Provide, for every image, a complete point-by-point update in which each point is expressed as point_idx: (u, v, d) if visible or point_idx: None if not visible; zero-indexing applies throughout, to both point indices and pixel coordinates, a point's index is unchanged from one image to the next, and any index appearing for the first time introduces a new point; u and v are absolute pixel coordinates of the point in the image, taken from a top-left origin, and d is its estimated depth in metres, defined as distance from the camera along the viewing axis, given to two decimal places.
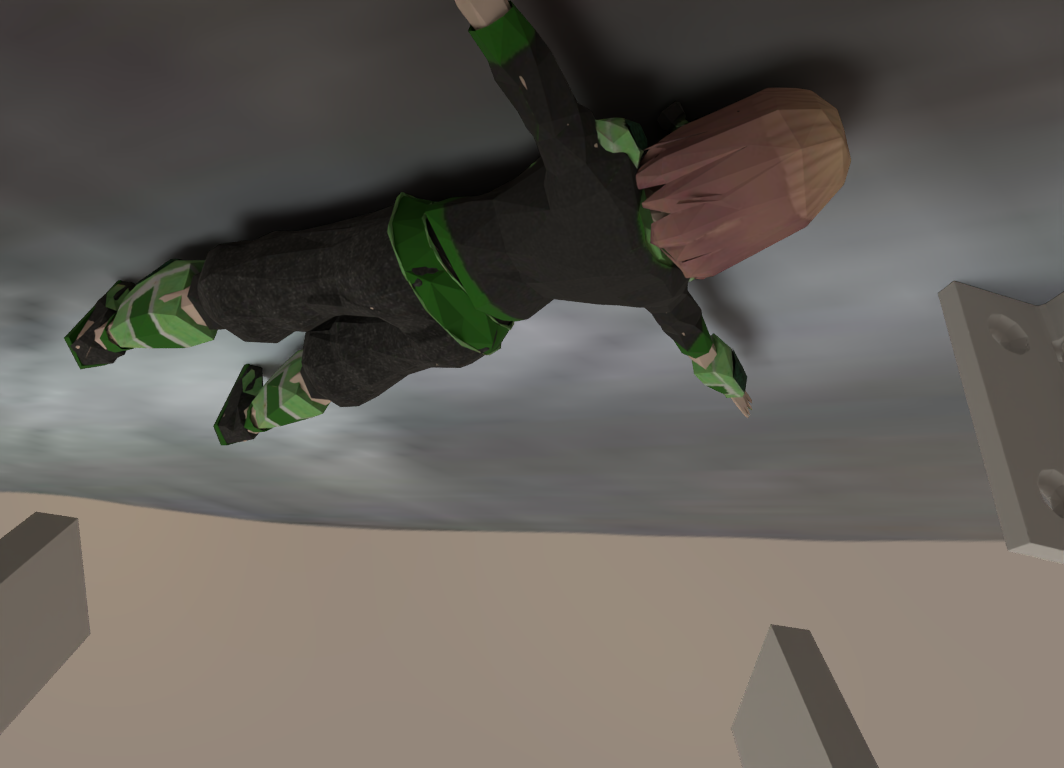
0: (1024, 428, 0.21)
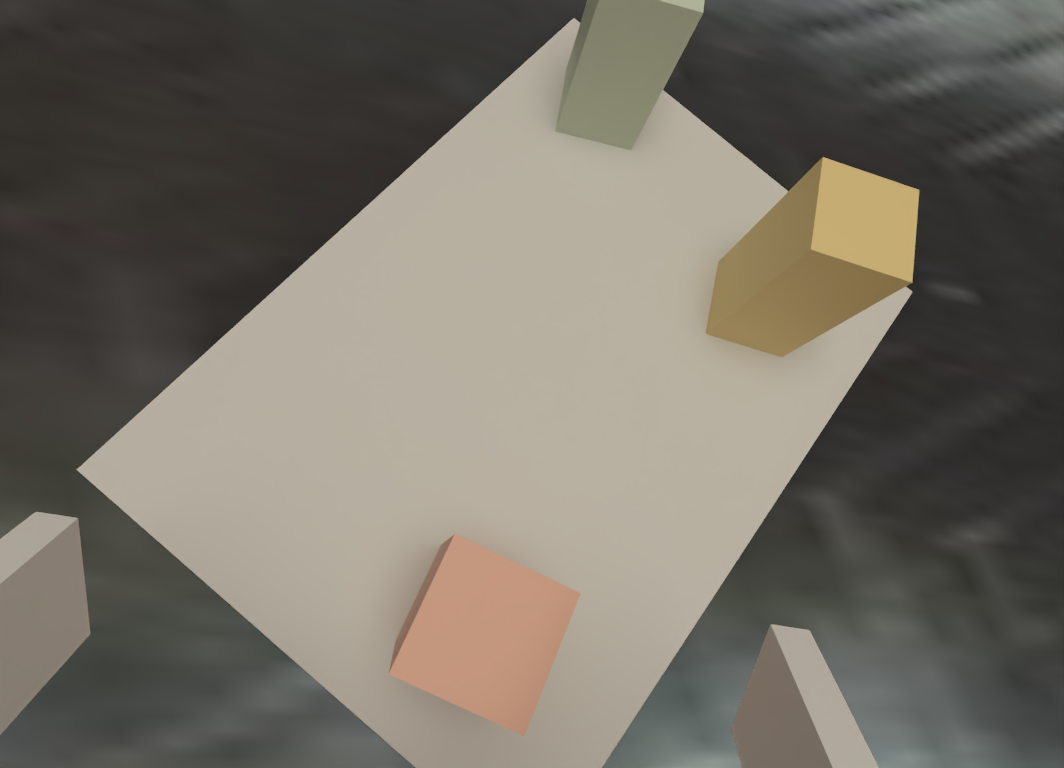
0: None
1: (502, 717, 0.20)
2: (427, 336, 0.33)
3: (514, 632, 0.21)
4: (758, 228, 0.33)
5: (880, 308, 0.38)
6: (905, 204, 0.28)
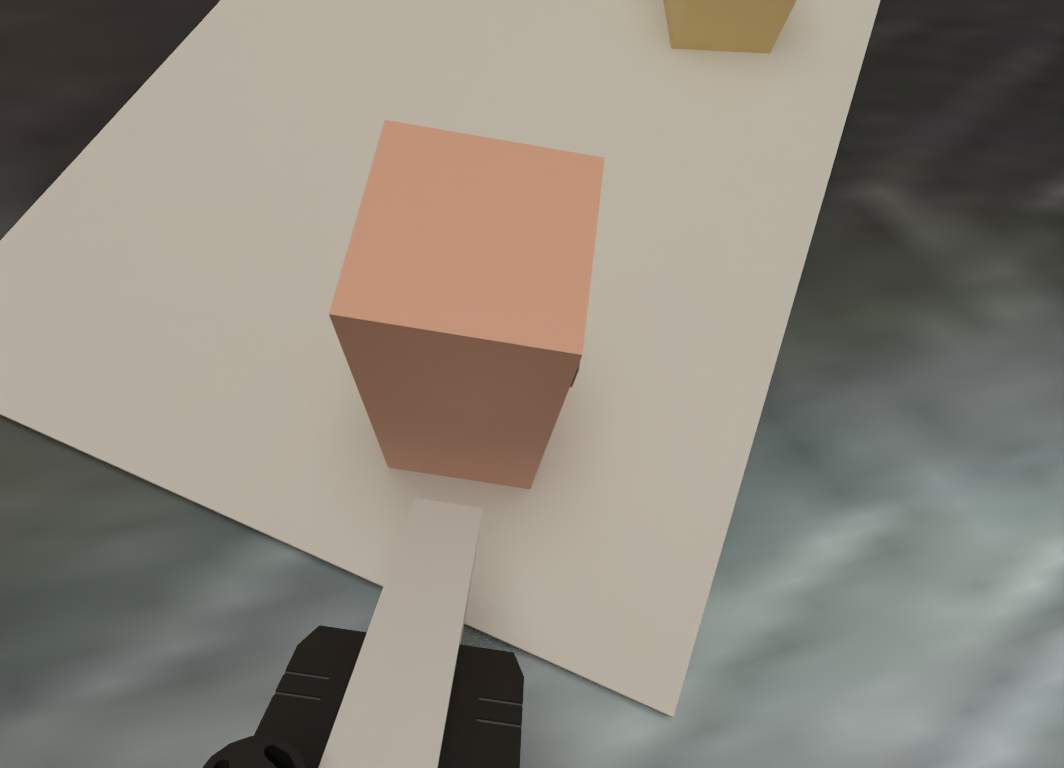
0: None
1: (537, 336, 0.12)
2: (331, 118, 0.26)
3: (518, 223, 0.13)
4: None
5: None
6: None
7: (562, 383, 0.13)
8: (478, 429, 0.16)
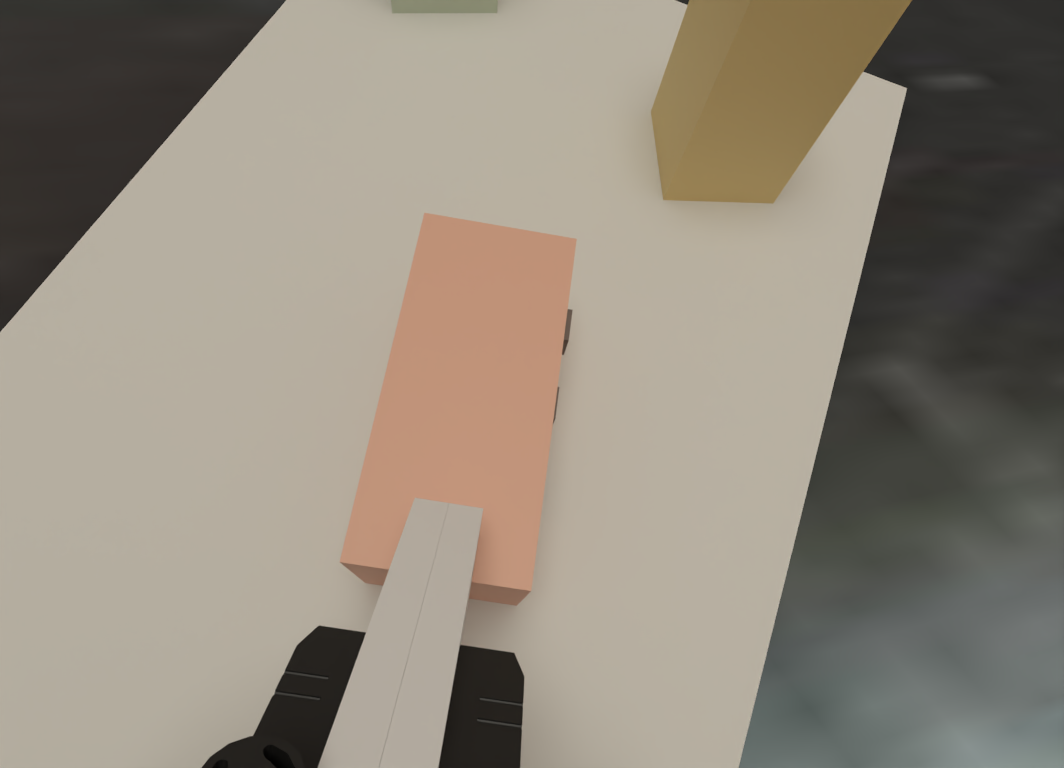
0: None
1: None
2: (275, 299, 0.23)
3: None
4: (687, 20, 0.23)
5: (875, 116, 0.29)
6: None
7: (565, 277, 0.19)
8: (491, 382, 0.17)
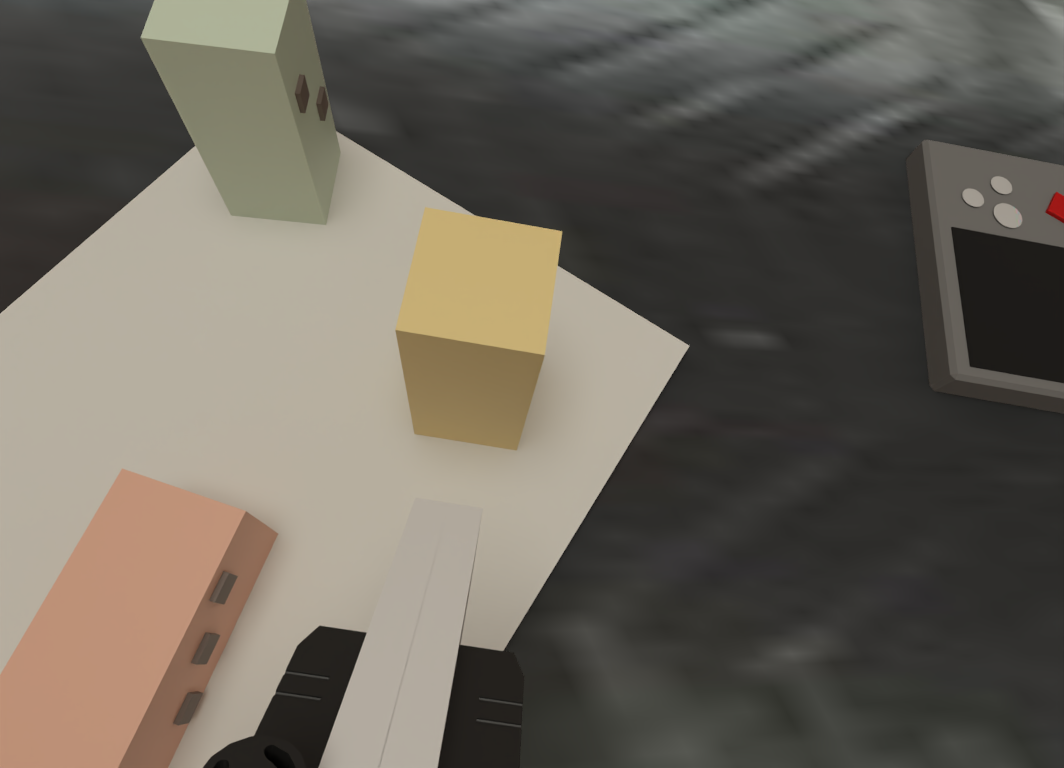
0: None
1: (225, 504, 0.23)
2: (36, 487, 0.26)
3: None
4: None
5: (647, 371, 0.31)
6: (541, 252, 0.21)
7: (221, 548, 0.22)
8: (118, 642, 0.21)
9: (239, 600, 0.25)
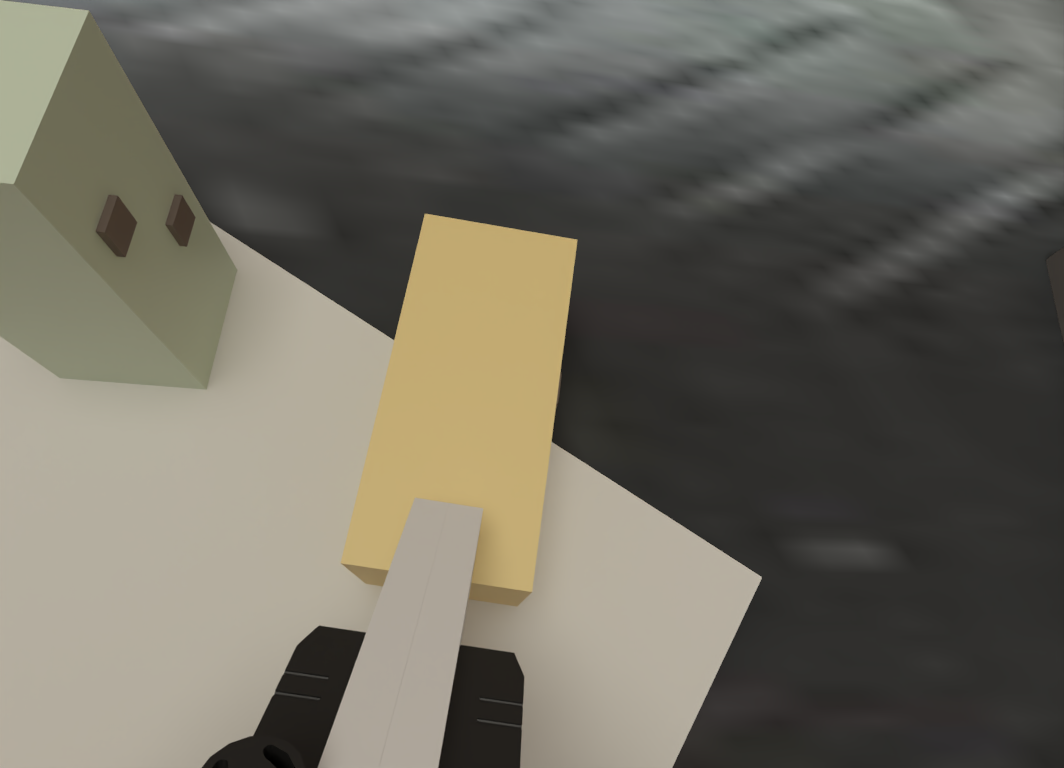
0: None
1: None
2: None
3: None
4: None
5: (699, 626, 0.20)
6: None
7: None
8: None
9: None
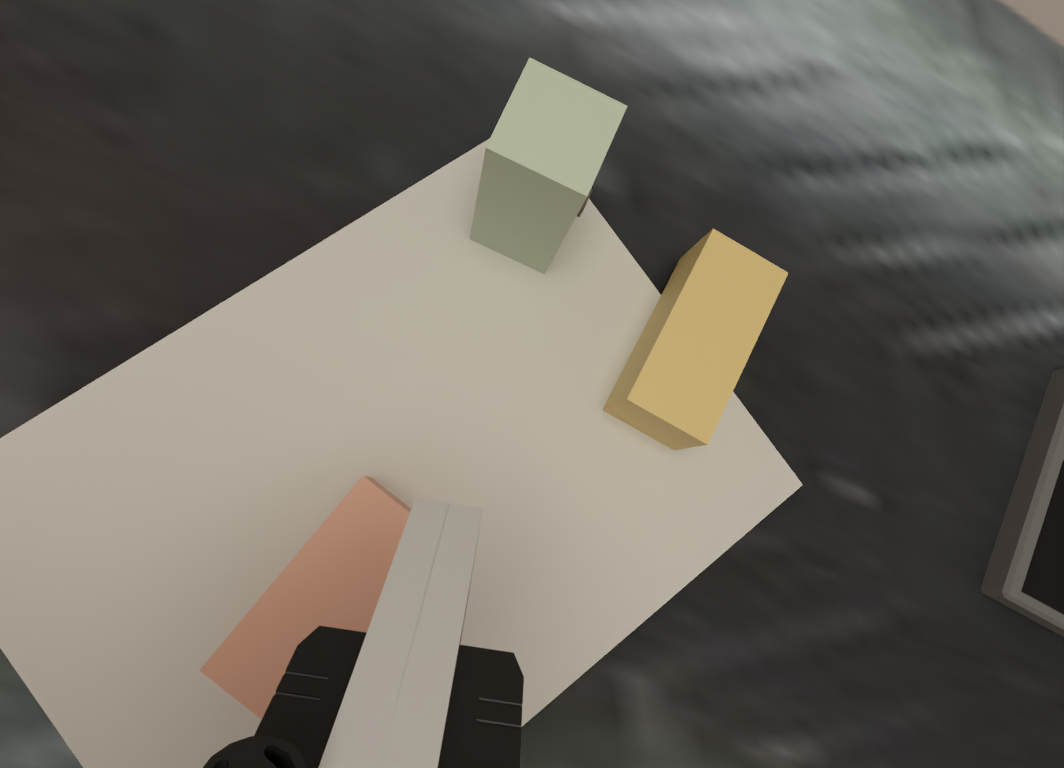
0: None
1: None
2: (273, 434, 0.33)
3: None
4: (642, 335, 0.36)
5: (761, 495, 0.37)
6: None
7: None
8: (336, 608, 0.28)
9: None
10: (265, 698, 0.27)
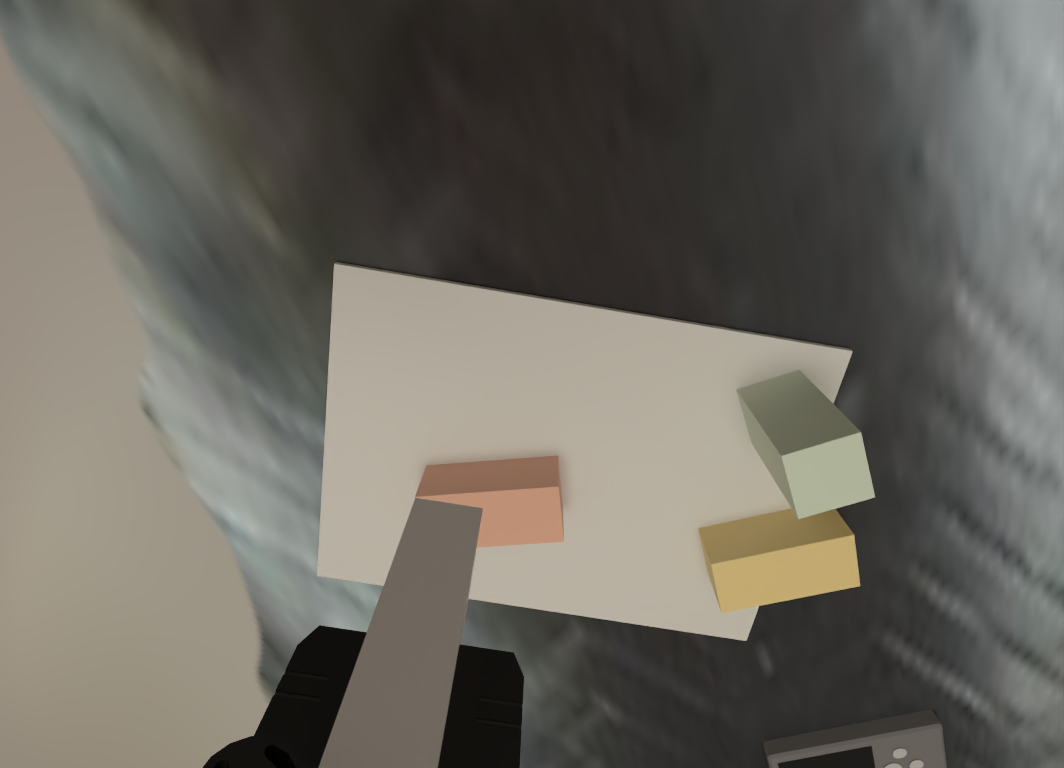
0: None
1: (563, 530, 0.47)
2: (533, 394, 0.48)
3: (561, 503, 0.49)
4: (760, 518, 0.51)
5: (721, 627, 0.55)
6: None
7: (544, 541, 0.47)
8: (492, 525, 0.47)
9: None
10: None
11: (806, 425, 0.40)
